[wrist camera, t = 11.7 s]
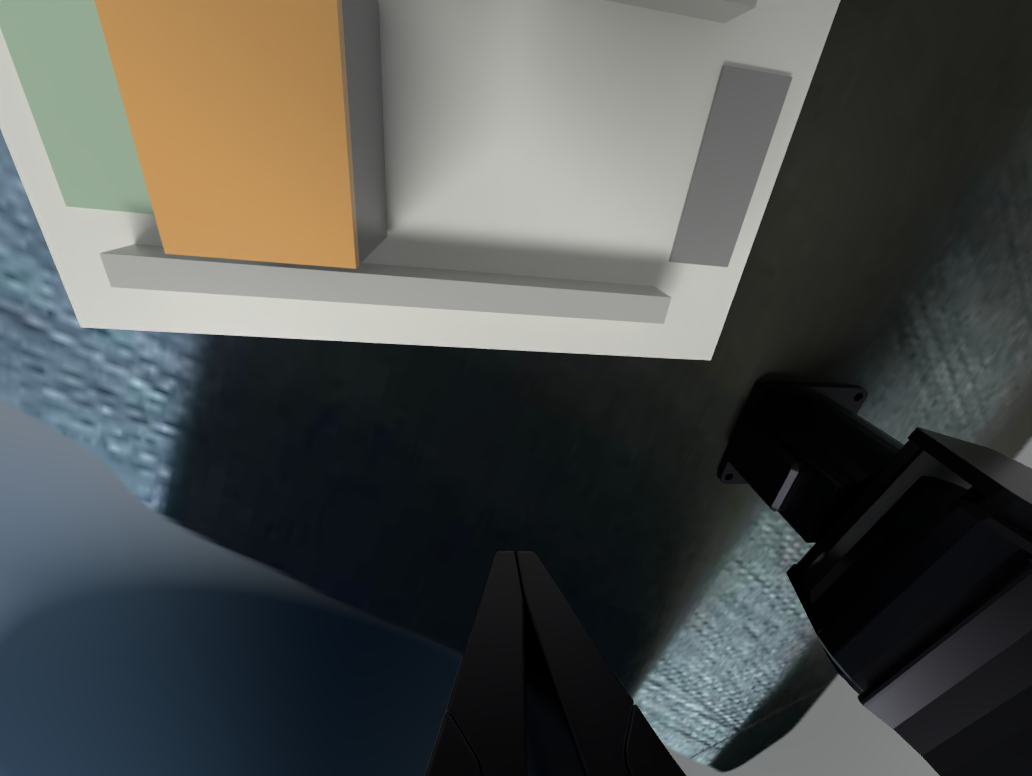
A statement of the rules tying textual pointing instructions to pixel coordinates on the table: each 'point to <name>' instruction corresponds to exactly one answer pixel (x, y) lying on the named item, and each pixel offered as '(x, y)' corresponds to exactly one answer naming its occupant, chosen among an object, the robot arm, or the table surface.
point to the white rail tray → (459, 177)
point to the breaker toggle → (256, 124)
